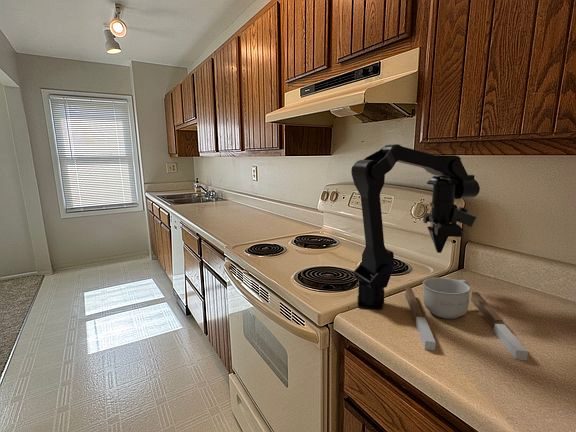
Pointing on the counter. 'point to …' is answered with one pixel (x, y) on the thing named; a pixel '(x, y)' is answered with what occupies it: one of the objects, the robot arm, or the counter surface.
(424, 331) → the bar
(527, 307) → the counter surface
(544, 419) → the counter surface
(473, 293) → the cradle
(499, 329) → the marker right
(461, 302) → the teacup
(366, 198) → the robot arm
